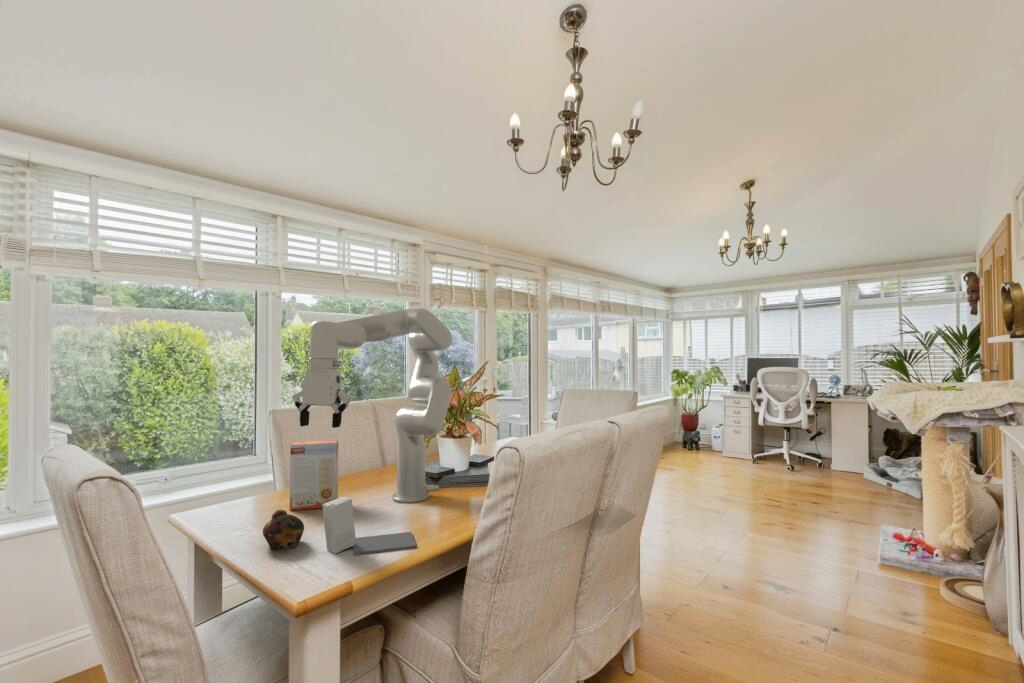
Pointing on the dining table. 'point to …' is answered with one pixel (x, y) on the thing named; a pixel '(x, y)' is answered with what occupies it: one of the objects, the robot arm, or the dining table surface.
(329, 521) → the skincare box
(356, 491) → the dining table surface
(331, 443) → the cracker box
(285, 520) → the decorative turtle
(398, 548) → the slate mat
